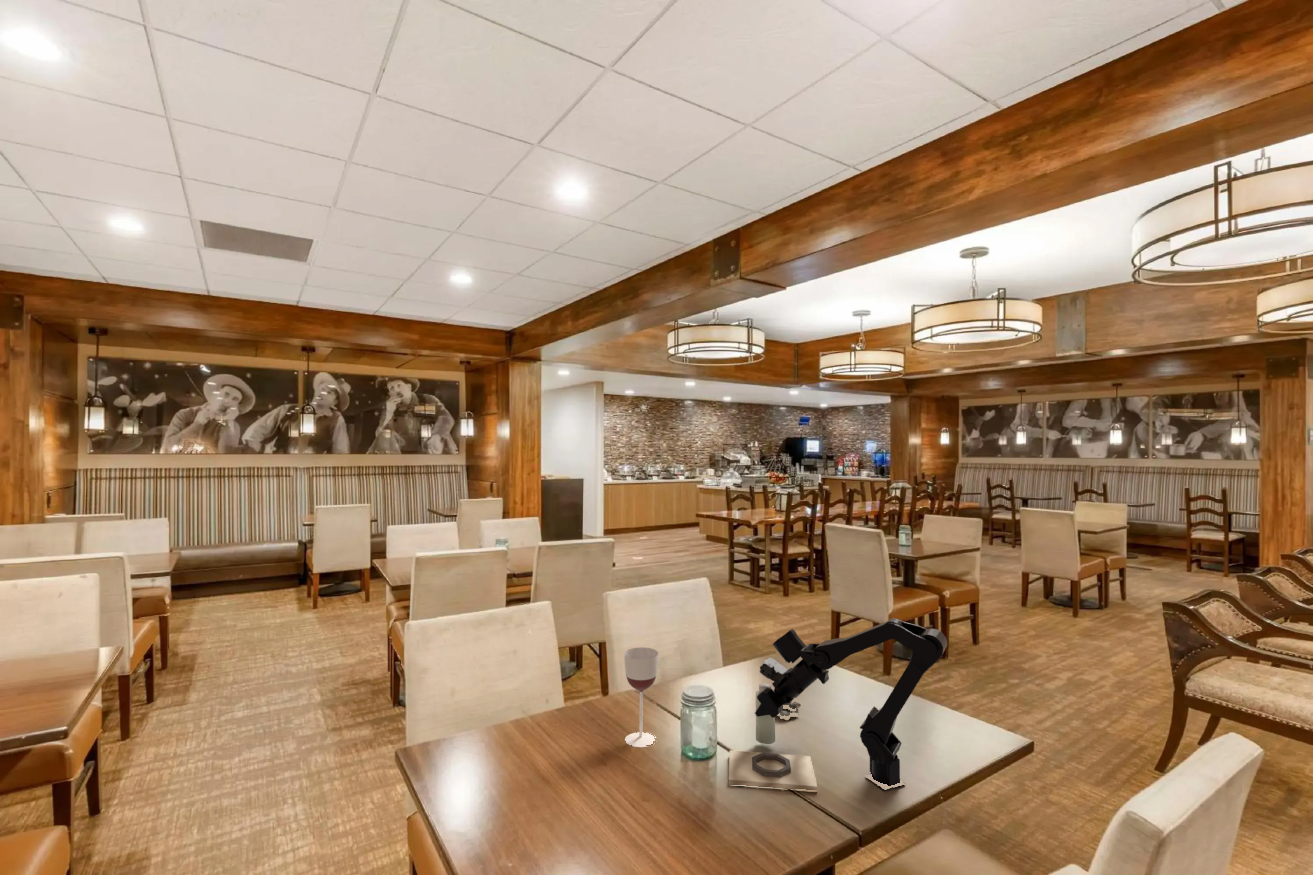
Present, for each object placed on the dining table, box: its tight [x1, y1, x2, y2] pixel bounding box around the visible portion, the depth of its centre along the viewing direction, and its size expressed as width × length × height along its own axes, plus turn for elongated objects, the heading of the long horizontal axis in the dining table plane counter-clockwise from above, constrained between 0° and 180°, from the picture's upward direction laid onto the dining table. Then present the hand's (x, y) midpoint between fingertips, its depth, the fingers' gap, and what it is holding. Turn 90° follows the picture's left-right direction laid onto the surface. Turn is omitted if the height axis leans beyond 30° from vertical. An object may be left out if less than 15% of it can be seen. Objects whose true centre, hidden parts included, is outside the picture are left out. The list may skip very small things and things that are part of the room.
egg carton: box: [780, 701, 802, 716], centre depth 179 cm, size 11×8×4 cm
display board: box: [728, 750, 818, 791], centre depth 144 cm, size 20×14×3 cm
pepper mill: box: [755, 682, 776, 745], centre depth 158 cm, size 5×5×14 cm
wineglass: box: [624, 646, 659, 748], centre depth 162 cm, size 9×10×23 cm
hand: (760, 711), depth 159 cm, fingers closed on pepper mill, 5 cm apart
